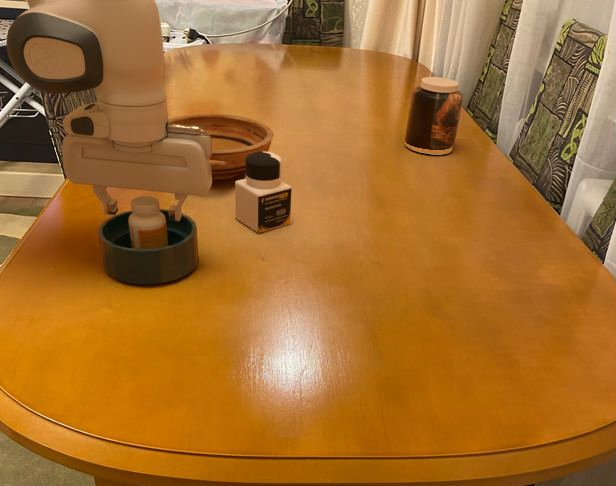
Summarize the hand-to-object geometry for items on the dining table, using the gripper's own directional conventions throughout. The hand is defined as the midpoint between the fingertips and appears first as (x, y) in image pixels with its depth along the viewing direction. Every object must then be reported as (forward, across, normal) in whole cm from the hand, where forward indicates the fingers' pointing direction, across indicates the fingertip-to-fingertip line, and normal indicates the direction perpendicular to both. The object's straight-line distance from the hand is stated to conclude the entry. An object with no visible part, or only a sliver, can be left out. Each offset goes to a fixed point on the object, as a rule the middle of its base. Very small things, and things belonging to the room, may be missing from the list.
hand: (143, 216), depth 89 cm
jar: (+7, -50, -66) cm, 83 cm away
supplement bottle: (+8, -1, 0) cm, 8 cm away
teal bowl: (+8, -1, 0) cm, 8 cm away
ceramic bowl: (+8, -3, -41) cm, 42 cm away
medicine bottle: (+8, -16, -18) cm, 25 cm away
